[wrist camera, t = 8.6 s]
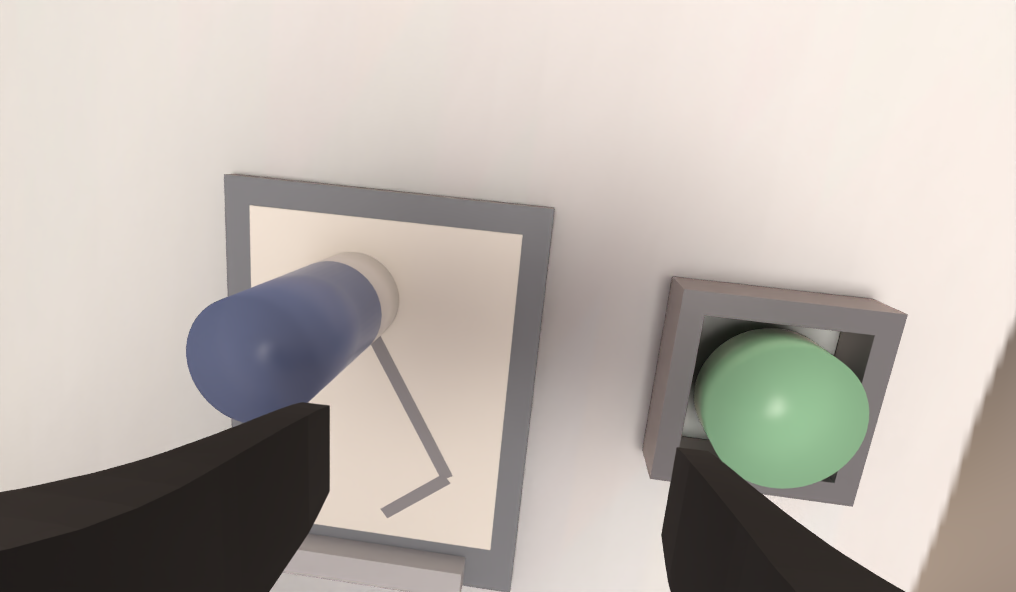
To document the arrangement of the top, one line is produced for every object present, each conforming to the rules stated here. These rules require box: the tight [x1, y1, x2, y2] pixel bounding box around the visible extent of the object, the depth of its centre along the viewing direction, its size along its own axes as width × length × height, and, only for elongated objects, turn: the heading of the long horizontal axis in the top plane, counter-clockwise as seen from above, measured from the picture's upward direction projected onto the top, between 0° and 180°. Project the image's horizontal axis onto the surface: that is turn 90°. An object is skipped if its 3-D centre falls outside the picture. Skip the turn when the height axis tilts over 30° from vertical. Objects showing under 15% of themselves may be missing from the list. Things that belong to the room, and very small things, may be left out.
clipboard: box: [224, 174, 554, 592], centre depth 21 cm, size 16×12×2 cm
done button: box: [694, 328, 869, 489], centre depth 18 cm, size 5×5×2 cm
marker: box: [186, 252, 399, 423], centre depth 17 cm, size 3×3×7 cm
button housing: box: [642, 277, 908, 507], centre depth 20 cm, size 7×7×2 cm
